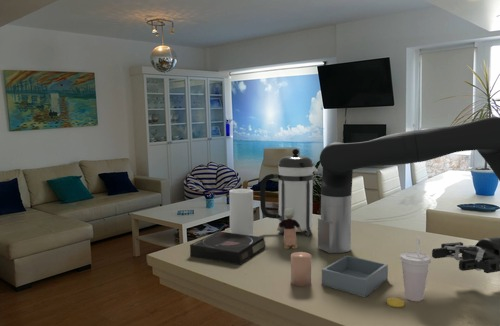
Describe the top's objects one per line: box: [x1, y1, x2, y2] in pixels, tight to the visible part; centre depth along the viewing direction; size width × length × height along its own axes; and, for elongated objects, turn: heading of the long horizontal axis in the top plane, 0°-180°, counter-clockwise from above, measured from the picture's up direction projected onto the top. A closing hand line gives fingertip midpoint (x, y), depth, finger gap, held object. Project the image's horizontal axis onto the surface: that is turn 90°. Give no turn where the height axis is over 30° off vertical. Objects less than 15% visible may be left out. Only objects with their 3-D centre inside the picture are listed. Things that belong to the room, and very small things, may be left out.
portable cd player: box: [189, 231, 266, 266], centre depth 127 cm, size 16×17×4 cm
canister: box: [290, 251, 312, 287], centre depth 103 cm, size 5×5×7 cm
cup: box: [228, 188, 254, 236], centre depth 145 cm, size 8×8×16 cm
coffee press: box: [259, 148, 319, 237], centre depth 148 cm, size 17×16×30 cm
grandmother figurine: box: [276, 208, 303, 249], centre depth 131 cm, size 8×4×13 cm, turn 94°
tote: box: [321, 255, 389, 298], centre depth 103 cm, size 13×11×4 cm
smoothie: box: [399, 236, 432, 302], centre depth 93 cm, size 6×6×14 cm
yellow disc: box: [386, 297, 405, 308], centre depth 91 cm, size 4×4×1 cm
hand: (446, 259), depth 96 cm, fingers open, 8 cm apart
